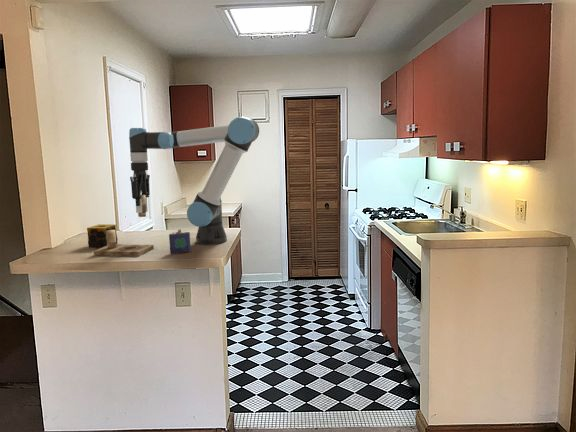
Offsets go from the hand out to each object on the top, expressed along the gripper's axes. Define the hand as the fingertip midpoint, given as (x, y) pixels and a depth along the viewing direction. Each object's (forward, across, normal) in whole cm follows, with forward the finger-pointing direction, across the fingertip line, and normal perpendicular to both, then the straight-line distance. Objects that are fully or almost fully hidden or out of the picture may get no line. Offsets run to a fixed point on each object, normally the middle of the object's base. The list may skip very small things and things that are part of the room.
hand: (142, 211), depth 220 cm
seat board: (+17, +9, -4) cm, 20 cm away
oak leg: (+2, 0, 0) cm, 2 cm away
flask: (+17, +7, +22) cm, 29 cm away
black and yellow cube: (+18, -2, -23) cm, 29 cm away
